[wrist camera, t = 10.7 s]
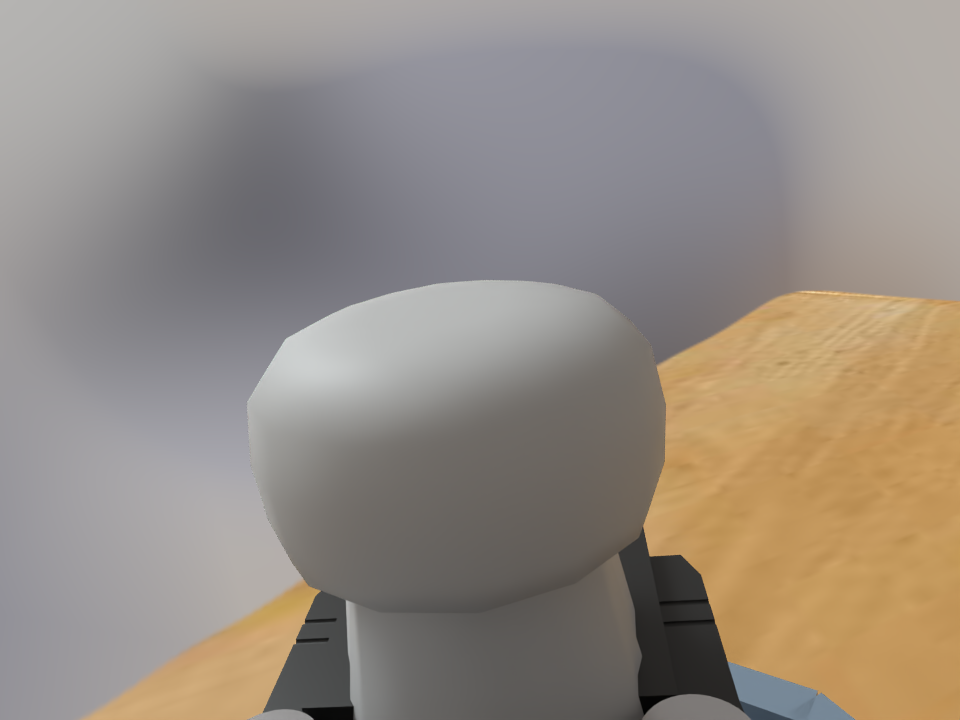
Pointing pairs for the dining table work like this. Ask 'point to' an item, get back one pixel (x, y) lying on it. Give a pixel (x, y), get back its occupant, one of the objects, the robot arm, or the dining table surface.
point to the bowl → (781, 698)
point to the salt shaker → (469, 494)
